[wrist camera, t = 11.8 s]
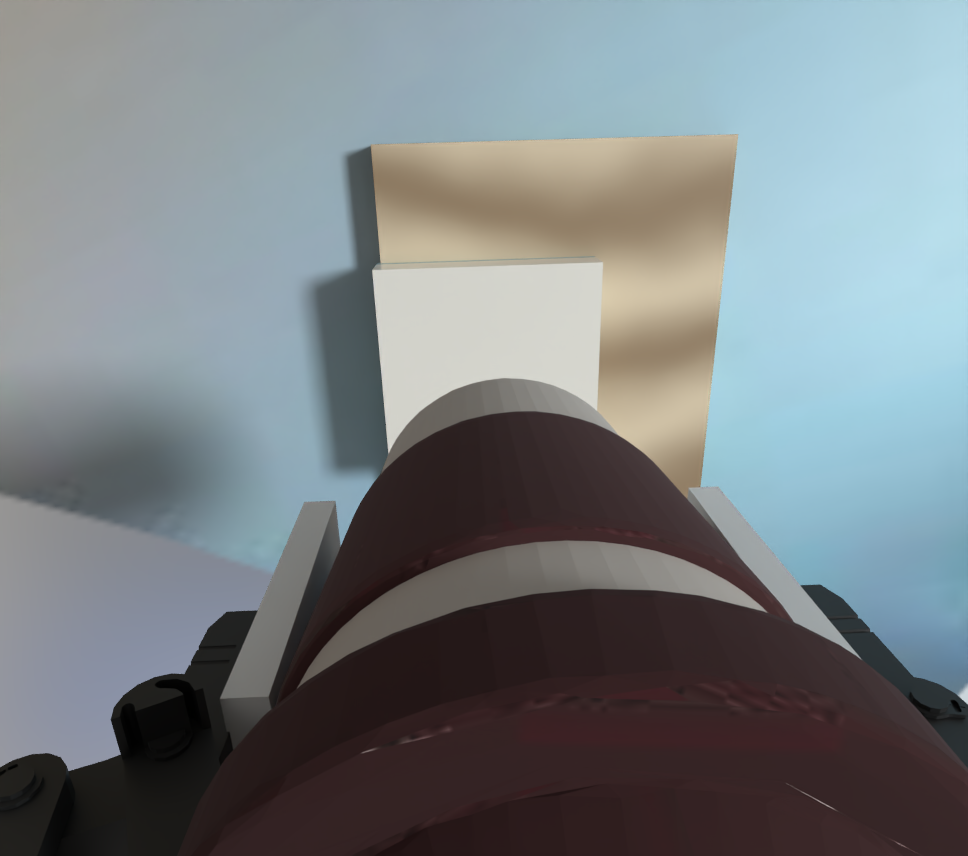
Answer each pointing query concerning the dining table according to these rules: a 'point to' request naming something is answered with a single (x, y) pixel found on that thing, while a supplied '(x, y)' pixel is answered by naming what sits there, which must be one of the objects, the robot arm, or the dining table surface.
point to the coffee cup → (566, 675)
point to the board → (591, 254)
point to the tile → (485, 327)
